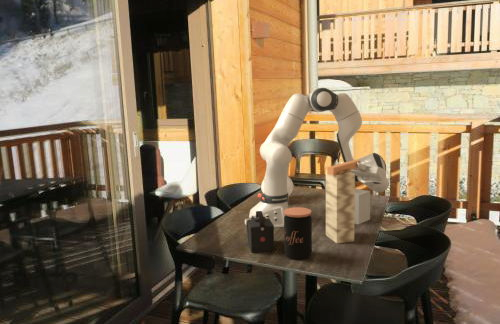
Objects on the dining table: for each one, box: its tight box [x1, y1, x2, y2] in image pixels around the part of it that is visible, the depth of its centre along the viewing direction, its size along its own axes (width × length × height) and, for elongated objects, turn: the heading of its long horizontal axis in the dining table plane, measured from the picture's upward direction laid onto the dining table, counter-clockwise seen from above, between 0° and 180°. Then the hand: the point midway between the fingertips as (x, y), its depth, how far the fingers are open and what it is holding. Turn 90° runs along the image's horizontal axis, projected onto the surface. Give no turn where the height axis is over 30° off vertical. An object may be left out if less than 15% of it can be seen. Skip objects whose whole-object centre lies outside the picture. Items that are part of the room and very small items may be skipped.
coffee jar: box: [283, 206, 313, 261], centre depth 177 cm, size 11×11×18 cm
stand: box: [325, 169, 356, 244], centre depth 193 cm, size 10×11×30 cm
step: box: [354, 188, 371, 225], centre depth 219 cm, size 10×10×14 cm
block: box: [326, 159, 360, 175], centre depth 193 cm, size 20×3×3 cm, turn 135°
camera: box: [245, 211, 275, 253], centre depth 188 cm, size 11×14×15 cm
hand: (353, 163), depth 197 cm, fingers closed on block, 3 cm apart
